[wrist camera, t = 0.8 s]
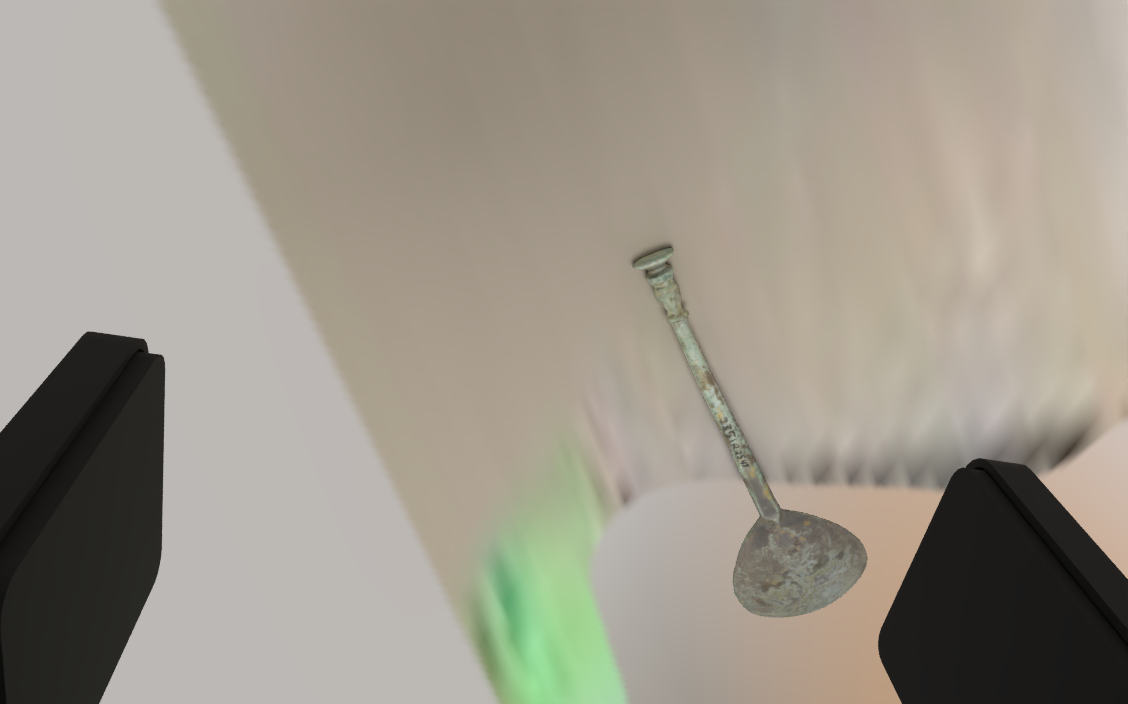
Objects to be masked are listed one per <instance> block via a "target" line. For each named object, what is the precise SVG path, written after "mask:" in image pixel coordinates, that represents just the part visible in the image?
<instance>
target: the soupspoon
mask: <svg viewBox="0 0 1128 704" xmlns="http://www.w3.org/2000/svg"><path fill="white" fill-rule="evenodd" d="M673 251H674V249H673V248H666V249H663V250H660V251H657V252H655V253H653V254H650V255H647V256H645V257H643V258H641V259H640V260H638V261H636V262H635V263H634V264H633V268H635V269H646V270H647V271H648V274H647V276H646V280H647V281H648V283H649V284H651V285H652V286H653V287H654V292H655V295H656V297H657V299H658V301H659V303H660V305H661V306H662V307H664V308H665V309H666V310H667V318H666V319H667V322H668V323H669V324H671V325H672V326H673V328H674V330H675V333H676V335H677V337H678V340H679V342H680V344H681V347H682V349H683V352H684V354H685V356H686V358H687V361H688V363H689V365H690V368H691V370H692V372H693V374H694V377H695V379H696V381H697V383H698V386H699V388H700V390H701V391H702V394H703V396H704V398H705V401H706V403H707V405H708V406H709V409H710V411H711V413H712V415H713V417H714V419H715V421H716V423H717V425H718V427H719V429H720V431H721V433H722V435H723V437H724V439H725V441H726V443H727V445H728V447H729V450H730V452H731V454H732V456H733V458H734V460H735V463H736V465H737V467H738V469H739V471H740V474H741V476H742V478H743V480H744V483H745V485H746V487H747V489H748V491H749V493H750V495H751V497H752V499H753V502H754V504H755V506H756V508H757V510H758V512H759V514H760V517H759V519H758V520H757V521H756V523H755V524H754V526H753V527H752V528H751V530H750V531H749V532H748V534H747V536H746V538H745V539H744V541H743V543H742V546H741V548H740V550H739V554H738V558H737V561H736V566H735V569H734V575H733V586H734V593H735V595H736V596H737V598H738V600H739V602H740V603H741V604H742V605H743V607H744V608H746V609H747V610H748V611H750V612H751V613H753V614H756V615H760V616H765V617H792V616H798V615H803V614H806V613H810V612H813V611H816V610H819V609H821V608H823V607H825V606H827V605H829V604H831V603H832V602H834V601H836V600H837V599H838V598H840V597H841V596H842V595H844V594H845V593H846V592H847V591H848V590H849V589H850V588H851V587H852V586H853V585H854V584H855V583H856V582H857V581H858V579H859V578H860V577H861V575H862V573H863V572H864V570H865V567H866V564H867V553H866V551H865V548H864V546H863V544H862V543H861V542H860V540H859V539H858V538H857V537H856V536H855V535H853V534H852V533H851V532H849V531H848V530H846V529H845V528H843V527H841V526H840V525H838V524H835V523H833V522H831V521H828V520H826V519H822V518H819V517H817V516H814V515H809V514H807V513H803V512H797V511H790V510H783V509H781V508H780V506H779V504H778V503H777V501H776V499H775V498H774V496H773V494H772V492H771V490H770V488H769V486H768V484H767V482H766V480H765V478H764V476H763V474H762V472H761V470H760V468H759V466H758V465H757V462H756V461H755V458H754V456H753V455H752V452H751V451H750V448H749V447H748V444H747V442H746V440H745V438H744V435H743V433H742V432H741V430H740V428H739V426H738V425H737V423H736V420H735V418H734V416H733V414H732V412H731V411H730V409H729V407H728V405H727V403H726V401H725V399H724V397H723V396H722V394H721V391H720V389H719V387H718V385H717V383H716V381H715V379H714V377H713V374H712V373H711V371H710V368H709V366H708V364H707V362H706V360H705V358H704V355H703V353H702V352H701V350H700V347H699V345H698V343H697V341H696V339H695V337H694V335H693V333H692V331H691V329H690V327H689V325H688V321H687V317H688V315H689V313H688V311H687V310H684V309H683V307H682V306H681V293H680V290H679V287H678V285H677V283H676V282H675V281H674V280H673V275H674V269H673V267H672V266H669V265H667V264H666V261H667V259H668V258H670V257H671V256H672V254H673Z"/></svg>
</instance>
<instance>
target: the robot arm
mask: <svg viewBox="0 0 1128 704" xmlns="http://www.w3.org/2000/svg"><path fill="white" fill-rule="evenodd" d="M164 397H165V362H164V357H163V356H162V355H158V354H151V353H148V347H147V343H146V341H145V340H144V339H139V338H132V337H125V336H118V335H111V334H104V333H97V332H86V333H85V334H84V335H83V336H82V337H81V338H80V339H79V341H78V342H77V343H76V344H75V345H74V347H73V348H72V349H71V350H70V351H69V352H68V354H67V355H66V356H65V357H64V358H63V359H62V361H61V362H60V363H59V364H58V365H57V367H56V368H55V369H54V370H53V371H52V372H51V374H50V375H49V376H48V377H47V378H46V379H45V381H44V382H43V383H42V384H41V385H40V387H39V388H38V389H37V390H36V392H35V393H34V394H33V395H32V396H31V397H30V398H29V400H28V401H27V402H26V403H25V404H24V405H23V407H22V408H21V409H20V410H19V411H18V413H17V414H16V415H15V416H14V417H13V418H12V420H11V421H10V422H9V423H8V425H6V427H5V428H4V429H3V430H2V431H1V432H0V704H99V702H100V700H101V698H102V696H103V694H104V692H105V689H106V687H107V685H108V683H109V681H110V679H111V676H112V674H113V672H114V670H115V668H116V666H117V663H118V661H119V659H120V657H121V655H122V653H123V650H124V648H125V646H126V644H127V642H128V640H129V637H130V635H131V633H132V631H133V629H134V626H135V624H136V622H137V620H138V618H139V616H140V614H141V611H142V609H143V607H144V605H145V603H146V601H147V598H148V596H149V594H150V592H151V590H152V587H153V585H154V583H155V580H156V577H157V574H158V570H159V565H160V560H161V550H162V501H163V452H164V399H165V398H164ZM878 649H879V655H880V658H881V661H882V663H883V665H884V668H885V670H886V672H887V674H888V676H889V678H890V680H891V682H892V684H893V686H894V688H895V690H896V692H897V694H898V696H899V698H900V700H901V702H902V704H1128V579H1127V578H1126V577H1125V576H1124V575H1123V574H1122V572H1121V571H1120V570H1119V569H1118V568H1117V567H1116V565H1115V564H1114V563H1113V562H1112V561H1111V560H1110V559H1109V558H1108V557H1107V555H1106V554H1105V553H1104V552H1103V551H1102V550H1101V549H1100V547H1099V546H1098V545H1097V544H1096V543H1095V542H1094V541H1093V540H1092V538H1091V537H1090V536H1089V535H1088V534H1087V533H1086V532H1085V530H1084V529H1083V528H1082V527H1081V526H1080V525H1079V524H1078V523H1077V522H1076V520H1075V519H1074V518H1073V517H1072V516H1071V515H1070V513H1069V512H1068V511H1067V510H1066V509H1065V508H1064V507H1063V506H1062V504H1061V503H1060V502H1059V501H1058V500H1057V499H1056V498H1055V497H1054V496H1053V494H1052V493H1051V492H1050V491H1049V490H1048V489H1047V487H1046V486H1045V485H1044V484H1043V483H1042V482H1041V481H1040V480H1039V478H1038V477H1037V476H1036V475H1035V474H1034V473H1033V472H1032V470H1030V469H1029V468H1028V467H1027V466H1025V465H1021V464H1016V463H1009V462H1002V461H995V460H988V459H981V458H979V459H975V460H973V461H971V462H970V463H969V464H968V465H967V466H966V468H960V469H958V470H957V471H956V472H955V473H954V474H953V476H952V477H951V479H950V481H949V483H948V485H947V488H946V490H945V492H944V494H943V496H942V498H941V501H940V503H939V505H938V507H937V509H936V511H935V513H934V516H933V518H932V520H931V522H930V524H929V526H928V529H927V531H926V533H925V535H924V537H923V539H922V542H921V544H920V546H919V548H918V550H917V553H916V554H915V557H914V559H913V561H912V563H911V565H910V568H909V569H908V572H907V574H906V576H905V578H904V580H903V582H902V585H901V587H900V589H899V591H898V593H897V595H896V597H895V600H894V602H893V604H892V606H891V608H890V610H889V613H888V615H887V617H886V619H885V622H884V623H883V626H882V628H881V631H880V634H879V641H878Z"/></svg>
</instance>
